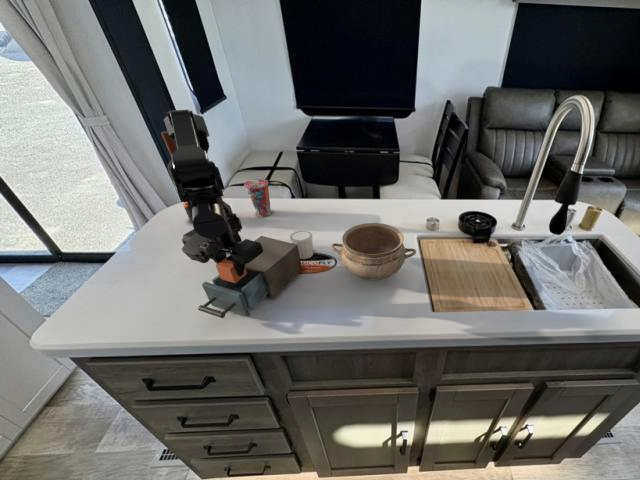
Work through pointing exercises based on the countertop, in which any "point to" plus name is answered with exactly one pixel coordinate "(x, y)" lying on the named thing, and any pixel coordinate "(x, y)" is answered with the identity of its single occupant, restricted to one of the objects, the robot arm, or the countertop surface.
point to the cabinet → (276, 264)
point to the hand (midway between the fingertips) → (233, 273)
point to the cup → (259, 195)
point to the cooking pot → (373, 250)
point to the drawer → (234, 294)
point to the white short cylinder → (303, 243)
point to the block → (229, 271)
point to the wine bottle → (172, 148)
